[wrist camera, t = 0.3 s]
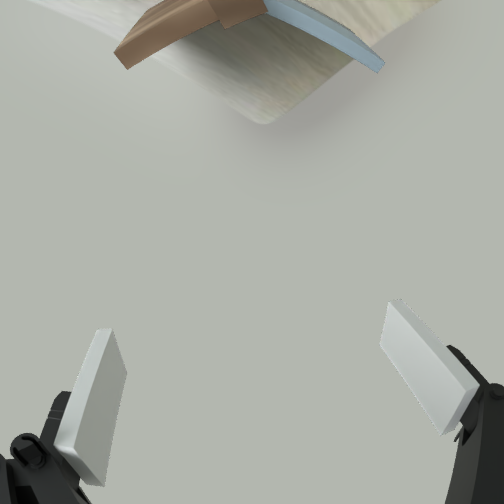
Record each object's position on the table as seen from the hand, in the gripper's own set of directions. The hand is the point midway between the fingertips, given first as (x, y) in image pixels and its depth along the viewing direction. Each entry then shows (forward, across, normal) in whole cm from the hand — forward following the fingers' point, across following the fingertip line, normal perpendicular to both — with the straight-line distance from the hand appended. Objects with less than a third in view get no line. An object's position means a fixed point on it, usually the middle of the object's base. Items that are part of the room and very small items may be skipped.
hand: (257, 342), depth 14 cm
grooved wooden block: (+25, -3, +26) cm, 36 cm away
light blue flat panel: (+25, +10, +24) cm, 36 cm away
